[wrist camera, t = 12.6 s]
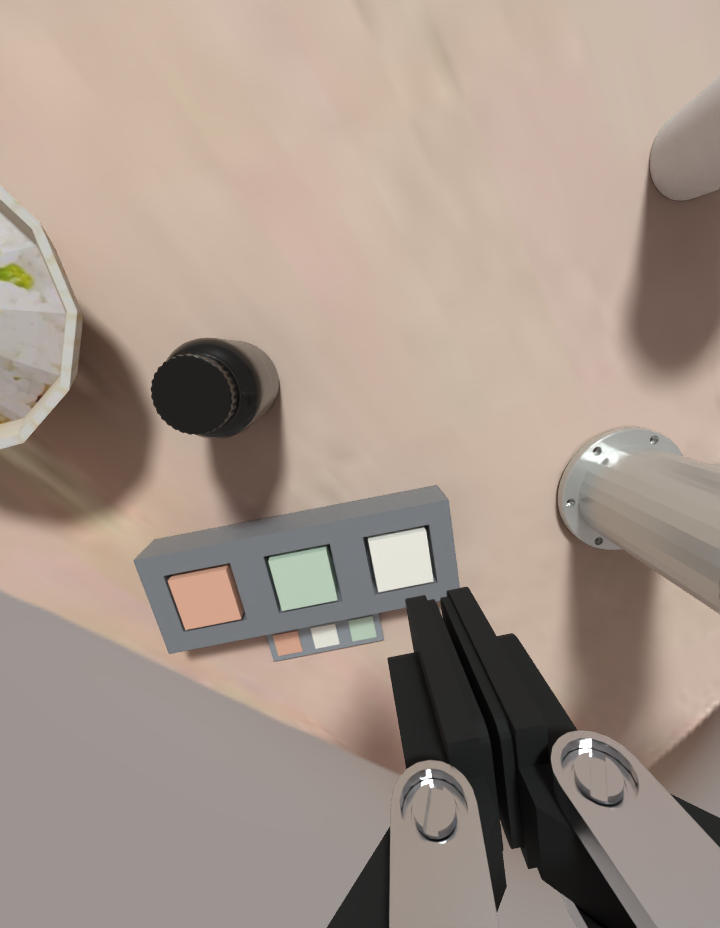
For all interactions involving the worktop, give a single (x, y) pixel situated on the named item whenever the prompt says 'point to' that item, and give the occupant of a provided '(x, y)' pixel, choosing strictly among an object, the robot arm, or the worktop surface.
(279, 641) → the card
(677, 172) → the coffee cup
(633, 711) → the worktop surface
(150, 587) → the keypad
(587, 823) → the robot arm
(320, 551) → the sage key
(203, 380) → the supplement bottle
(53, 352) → the bowl
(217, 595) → the terracotta key
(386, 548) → the cream key
